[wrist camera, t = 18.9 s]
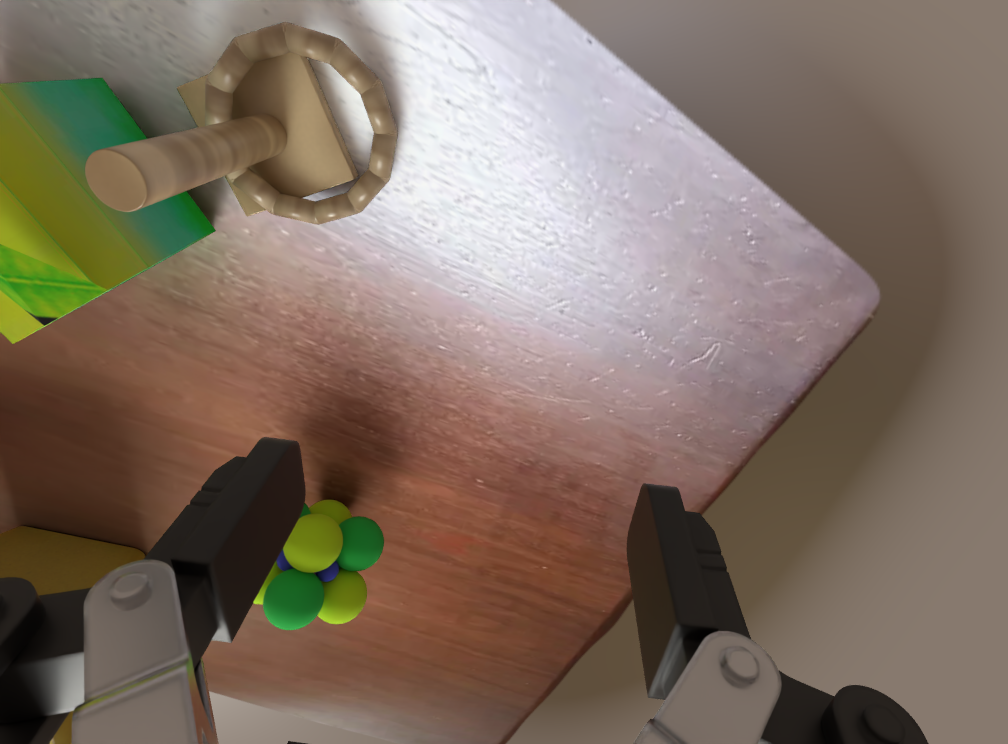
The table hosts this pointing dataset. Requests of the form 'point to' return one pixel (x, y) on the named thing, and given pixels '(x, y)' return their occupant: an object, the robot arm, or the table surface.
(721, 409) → the table surface
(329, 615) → the molecule model
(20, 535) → the flower pot
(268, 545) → the robot arm
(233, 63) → the ring
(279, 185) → the post
